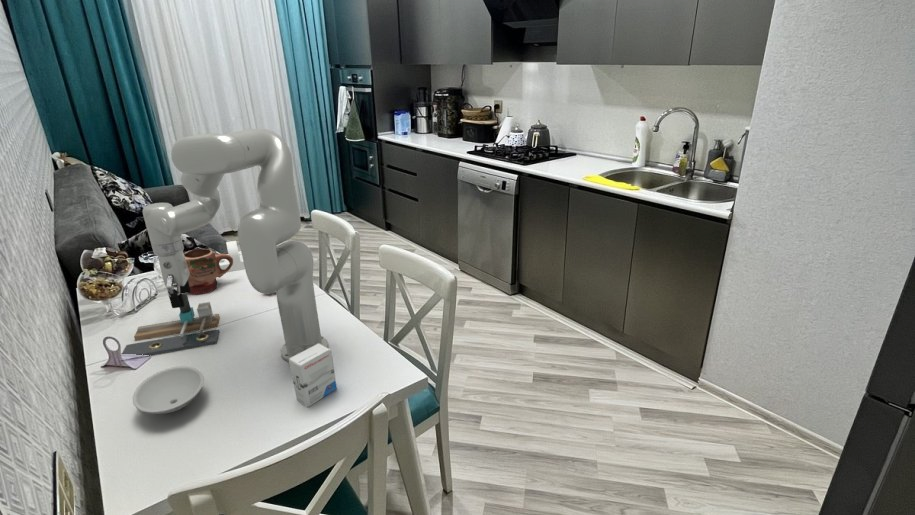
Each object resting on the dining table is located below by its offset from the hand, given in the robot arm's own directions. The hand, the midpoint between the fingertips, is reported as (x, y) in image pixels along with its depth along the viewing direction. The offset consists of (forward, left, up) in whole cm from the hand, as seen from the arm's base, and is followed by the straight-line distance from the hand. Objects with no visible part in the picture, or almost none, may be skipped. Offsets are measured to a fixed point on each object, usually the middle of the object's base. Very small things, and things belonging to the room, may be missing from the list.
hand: (181, 299), depth 140 cm
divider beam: (-4, +3, -9) cm, 10 cm away
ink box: (-47, -35, -10) cm, 60 cm away
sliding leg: (-4, 0, -8) cm, 9 cm away
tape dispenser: (+47, -9, -10) cm, 49 cm away
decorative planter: (+29, -1, -10) cm, 30 cm away
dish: (-39, -3, -10) cm, 41 cm away
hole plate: (-10, +3, -9) cm, 14 cm away
